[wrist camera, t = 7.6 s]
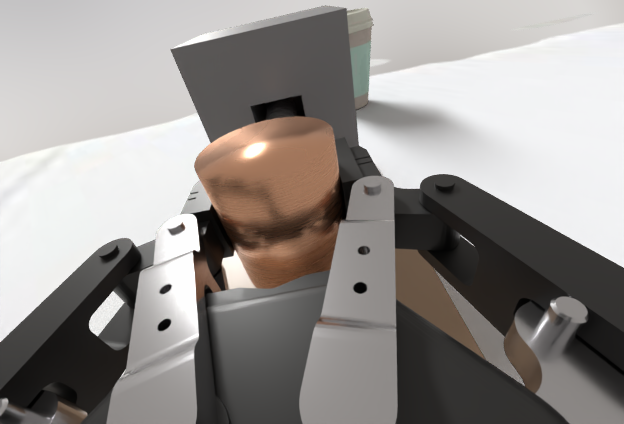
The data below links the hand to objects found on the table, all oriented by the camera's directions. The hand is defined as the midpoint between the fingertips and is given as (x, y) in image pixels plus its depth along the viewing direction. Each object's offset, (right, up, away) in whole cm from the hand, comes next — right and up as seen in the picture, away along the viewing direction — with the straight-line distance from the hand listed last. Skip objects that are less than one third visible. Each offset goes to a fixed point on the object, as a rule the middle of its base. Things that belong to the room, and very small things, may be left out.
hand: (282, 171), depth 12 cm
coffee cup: (+7, +15, +32) cm, 36 cm away
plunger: (0, -1, +3) cm, 3 cm away
